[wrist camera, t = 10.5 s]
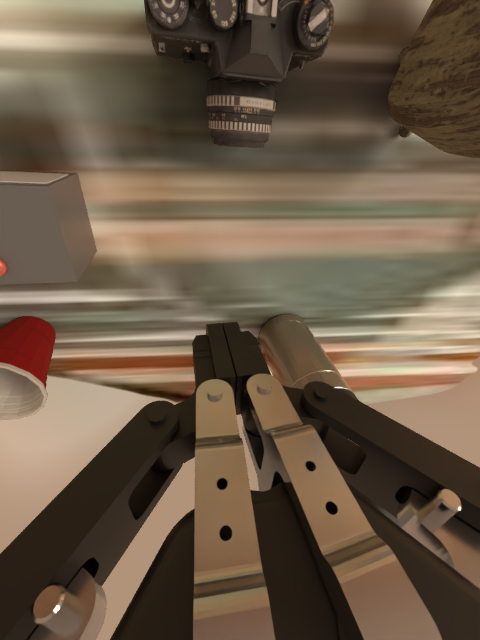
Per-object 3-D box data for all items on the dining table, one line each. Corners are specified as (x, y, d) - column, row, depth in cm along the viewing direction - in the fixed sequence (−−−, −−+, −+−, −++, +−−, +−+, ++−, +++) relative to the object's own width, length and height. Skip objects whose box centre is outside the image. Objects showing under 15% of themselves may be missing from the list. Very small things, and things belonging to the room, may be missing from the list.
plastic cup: (-8, 355, 40) (-64, 425, 31) (-18, 294, 35) (-89, 355, 25) (74, 363, 44) (47, 427, 35) (76, 309, 39) (45, 367, 29)
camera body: (96, 251, 35) (75, 284, 27) (-20, 252, 32) (-80, 289, 24) (77, 172, 30) (44, 186, 22) (-64, 166, 27) (-157, 180, 19)
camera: (162, 142, 30) (159, 146, 22) (146, -5, 24) (134, -74, 16) (282, 147, 33) (318, 152, 25) (296, 16, 26) (351, -34, 18)
